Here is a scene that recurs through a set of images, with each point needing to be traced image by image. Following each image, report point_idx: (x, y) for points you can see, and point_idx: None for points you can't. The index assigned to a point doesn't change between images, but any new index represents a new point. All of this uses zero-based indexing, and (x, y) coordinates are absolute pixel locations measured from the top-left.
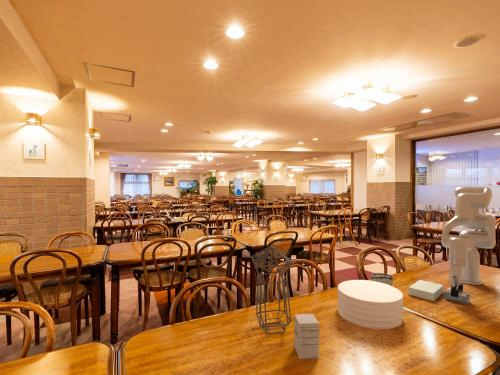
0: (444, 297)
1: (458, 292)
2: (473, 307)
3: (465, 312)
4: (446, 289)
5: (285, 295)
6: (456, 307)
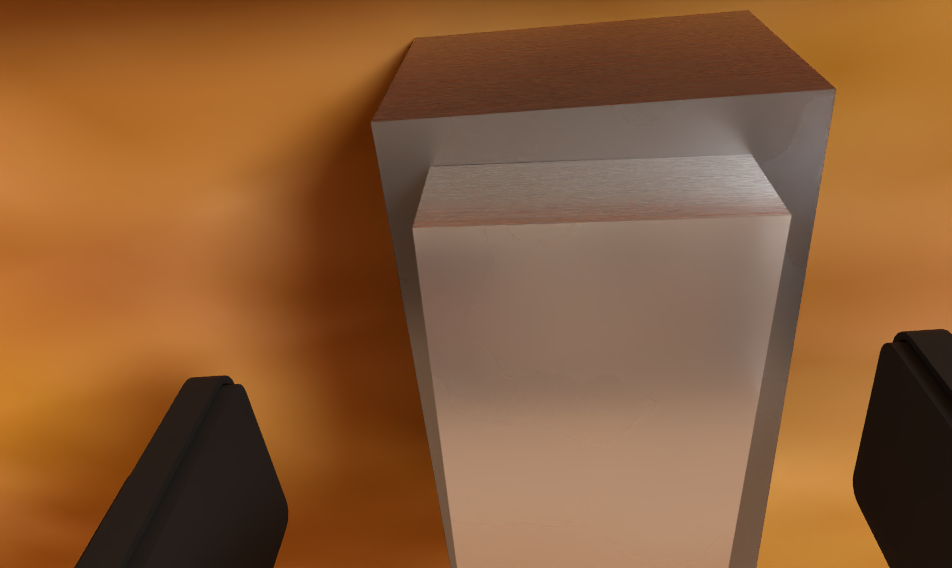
0: (408, 54)
1: (458, 566)
2: (426, 564)
3: (46, 537)
4: (416, 234)
5: None
6: (107, 404)
